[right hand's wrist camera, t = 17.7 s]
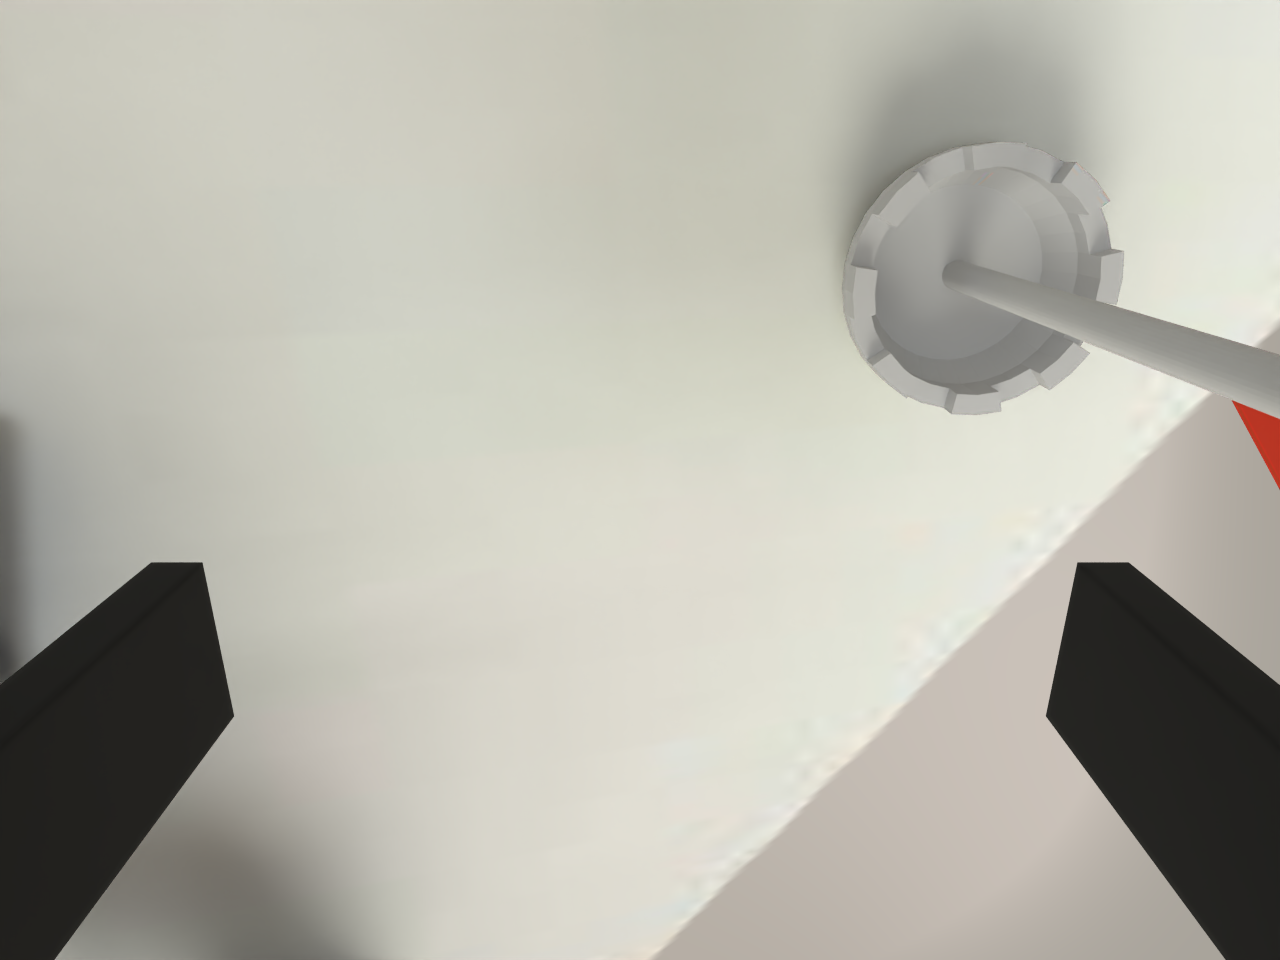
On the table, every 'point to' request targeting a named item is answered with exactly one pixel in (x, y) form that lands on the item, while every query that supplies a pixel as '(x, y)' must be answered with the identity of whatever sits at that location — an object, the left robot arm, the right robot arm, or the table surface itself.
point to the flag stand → (1018, 291)
